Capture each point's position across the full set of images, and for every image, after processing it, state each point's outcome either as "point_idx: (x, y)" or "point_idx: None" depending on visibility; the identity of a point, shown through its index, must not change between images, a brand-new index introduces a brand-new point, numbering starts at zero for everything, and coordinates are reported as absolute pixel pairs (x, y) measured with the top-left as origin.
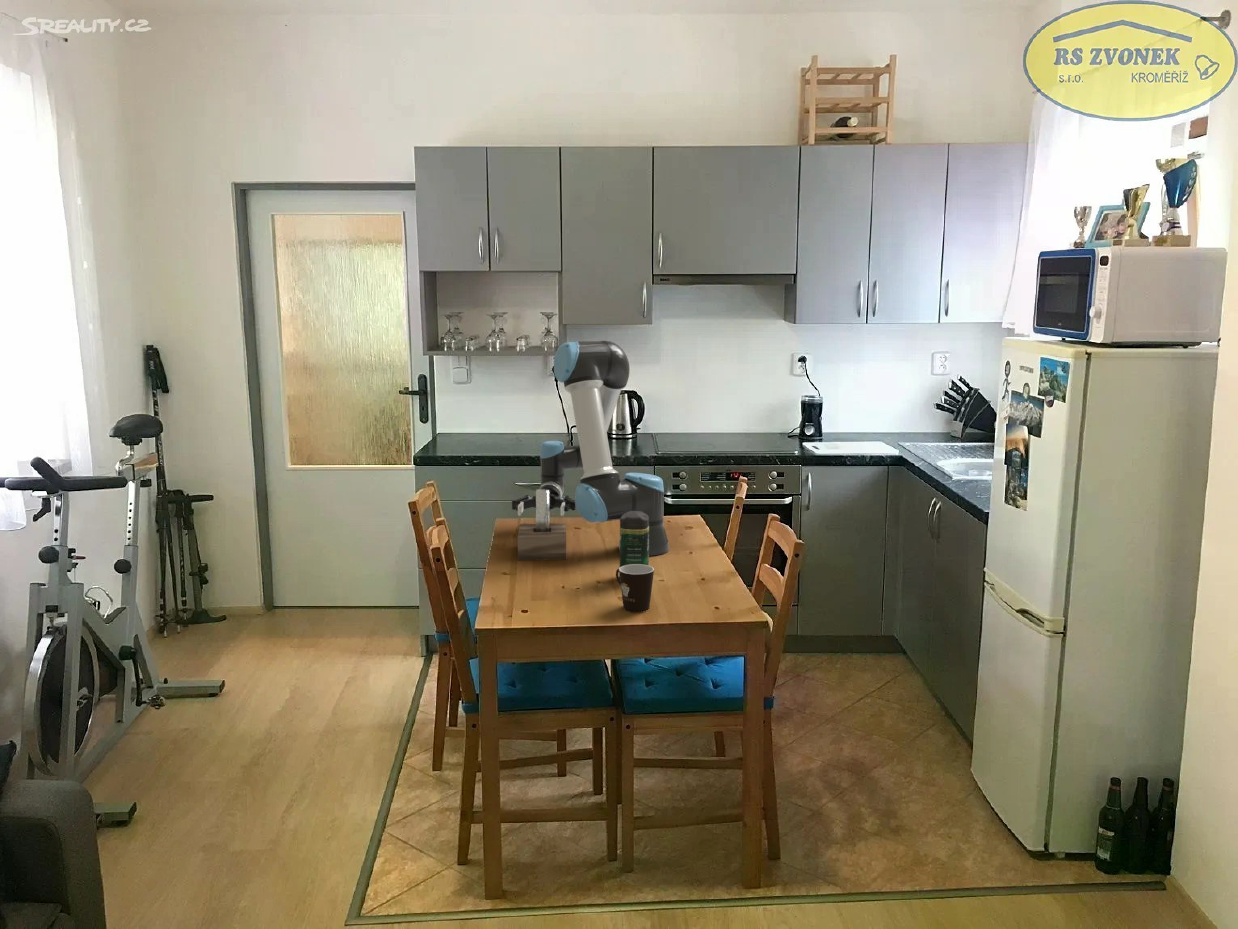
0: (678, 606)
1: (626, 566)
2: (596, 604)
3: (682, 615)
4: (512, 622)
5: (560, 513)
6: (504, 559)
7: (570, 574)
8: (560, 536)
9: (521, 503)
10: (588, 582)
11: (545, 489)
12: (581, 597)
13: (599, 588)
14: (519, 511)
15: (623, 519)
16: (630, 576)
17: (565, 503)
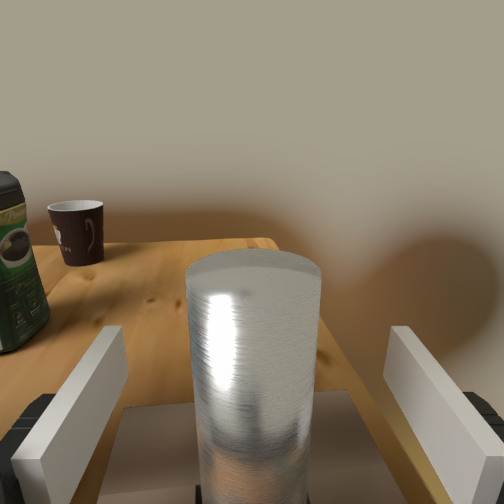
0: None
1: (83, 210)
2: (136, 265)
3: (36, 250)
4: (244, 241)
5: (126, 363)
6: (398, 481)
7: (151, 355)
8: (151, 406)
9: (450, 396)
10: (121, 320)
11: (229, 289)
12: (152, 278)
13: (109, 300)
14: (391, 353)
15: (16, 178)
16: (93, 204)
17: (3, 484)
